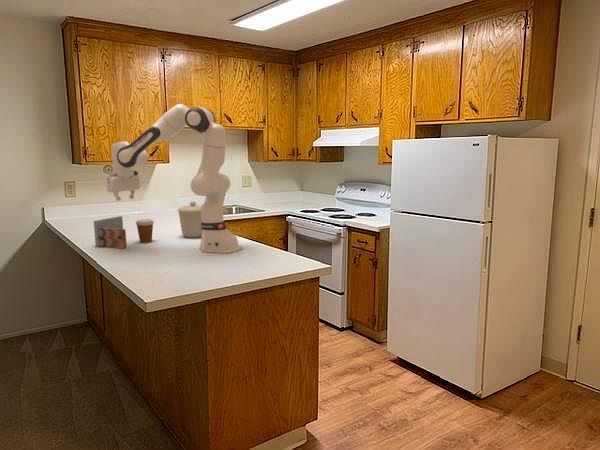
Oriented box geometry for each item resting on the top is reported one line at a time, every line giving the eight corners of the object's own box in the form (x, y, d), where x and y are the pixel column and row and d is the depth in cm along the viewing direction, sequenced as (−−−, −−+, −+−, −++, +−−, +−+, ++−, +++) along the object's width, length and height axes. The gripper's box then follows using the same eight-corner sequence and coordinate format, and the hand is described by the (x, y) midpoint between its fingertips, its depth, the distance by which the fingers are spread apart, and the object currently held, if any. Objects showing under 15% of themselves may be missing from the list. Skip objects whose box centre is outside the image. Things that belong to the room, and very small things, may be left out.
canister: (202, 239, 257) (200, 203, 253) (173, 238, 261) (171, 202, 257) (214, 234, 274) (213, 199, 271) (186, 233, 278) (185, 199, 274)
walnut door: (126, 248, 237) (125, 229, 235) (121, 249, 233) (119, 230, 232) (106, 245, 242) (105, 227, 241) (101, 247, 239) (99, 228, 237)
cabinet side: (128, 241, 254) (126, 216, 252) (103, 247, 238) (101, 221, 235) (121, 240, 256) (119, 216, 254) (95, 246, 240) (93, 220, 237)
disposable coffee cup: (136, 243, 247) (134, 222, 245) (137, 240, 256) (136, 219, 254) (154, 242, 250) (153, 221, 248) (155, 239, 259) (153, 218, 257)
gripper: (111, 174, 223) (114, 201, 225) (141, 171, 241) (143, 197, 243) (102, 174, 225) (105, 201, 227) (131, 172, 244) (134, 197, 246)
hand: (125, 199), depth 235 cm, fingers open, 8 cm apart
